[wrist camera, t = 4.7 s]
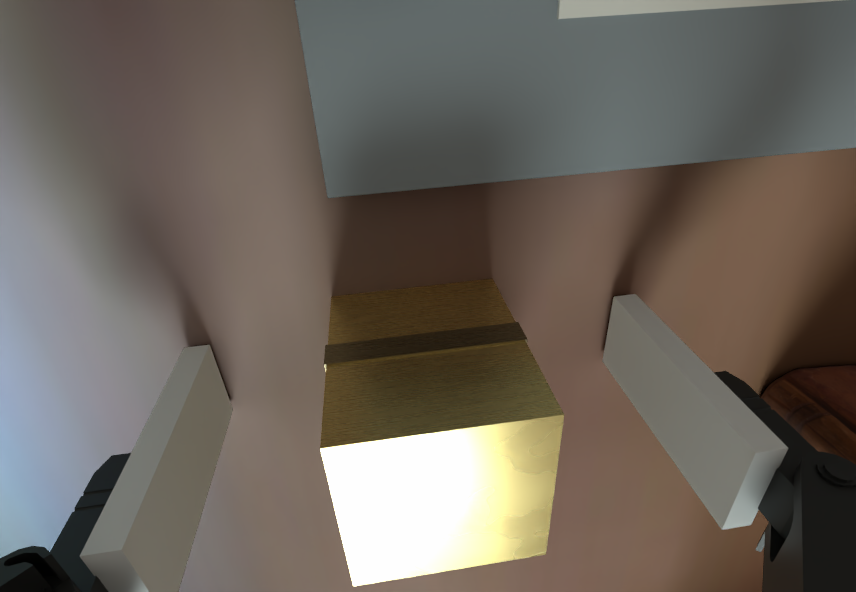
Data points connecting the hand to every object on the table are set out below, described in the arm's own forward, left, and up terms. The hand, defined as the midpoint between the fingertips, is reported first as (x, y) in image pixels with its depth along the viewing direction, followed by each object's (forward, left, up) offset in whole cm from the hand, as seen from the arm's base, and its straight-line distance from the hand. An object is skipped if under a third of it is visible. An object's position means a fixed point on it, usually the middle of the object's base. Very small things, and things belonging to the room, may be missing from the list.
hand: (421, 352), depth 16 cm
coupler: (0, 0, 0) cm, 0 cm away
